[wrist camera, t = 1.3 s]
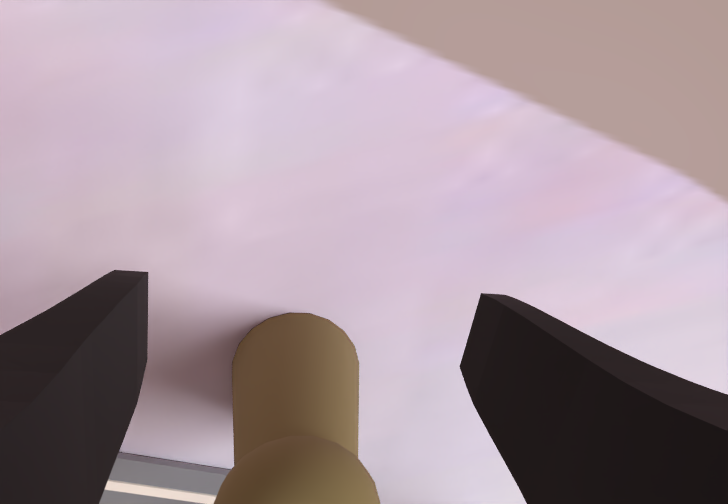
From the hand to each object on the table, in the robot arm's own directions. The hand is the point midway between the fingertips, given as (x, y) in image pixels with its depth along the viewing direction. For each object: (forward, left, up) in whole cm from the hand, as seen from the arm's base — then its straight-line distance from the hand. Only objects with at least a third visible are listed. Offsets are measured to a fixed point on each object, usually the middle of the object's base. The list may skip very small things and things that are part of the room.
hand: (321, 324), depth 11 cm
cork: (-1, +8, -12) cm, 14 cm away
